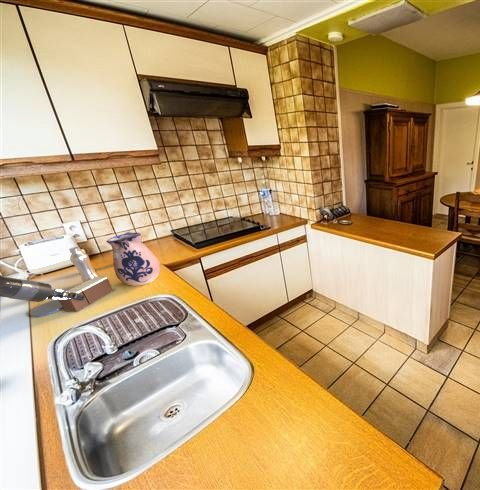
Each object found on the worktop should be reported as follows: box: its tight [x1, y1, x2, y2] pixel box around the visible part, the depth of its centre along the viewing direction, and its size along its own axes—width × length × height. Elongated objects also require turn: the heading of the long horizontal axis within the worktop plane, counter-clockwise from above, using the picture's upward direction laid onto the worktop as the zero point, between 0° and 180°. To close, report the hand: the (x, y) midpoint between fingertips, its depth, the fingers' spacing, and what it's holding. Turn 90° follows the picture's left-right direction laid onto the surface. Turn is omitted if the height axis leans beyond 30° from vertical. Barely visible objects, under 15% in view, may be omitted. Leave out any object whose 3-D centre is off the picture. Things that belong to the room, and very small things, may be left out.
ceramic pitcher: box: [106, 231, 162, 287], centre depth 134 cm, size 18×21×25 cm
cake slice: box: [58, 289, 90, 313], centre depth 116 cm, size 5×6×8 cm
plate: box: [29, 299, 64, 318], centre depth 119 cm, size 13×13×1 cm
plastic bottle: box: [68, 246, 101, 283], centre depth 135 cm, size 6×7×20 cm
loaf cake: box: [69, 276, 114, 305], centre depth 124 cm, size 11×6×8 cm, turn 175°
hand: (77, 298), depth 118 cm, fingers closed on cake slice, 6 cm apart
